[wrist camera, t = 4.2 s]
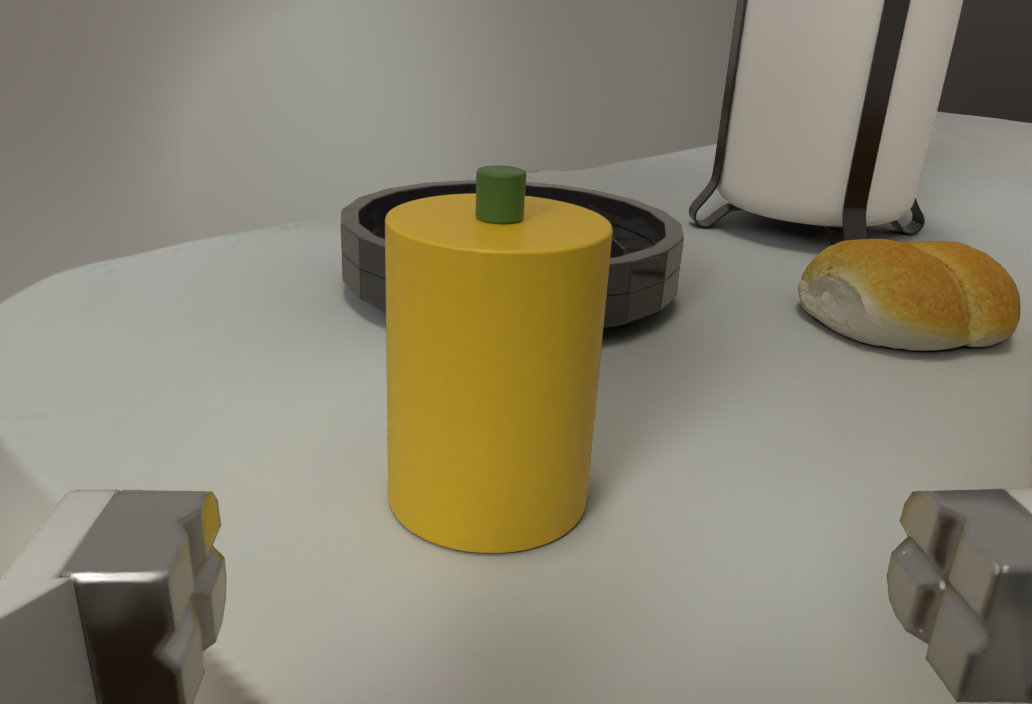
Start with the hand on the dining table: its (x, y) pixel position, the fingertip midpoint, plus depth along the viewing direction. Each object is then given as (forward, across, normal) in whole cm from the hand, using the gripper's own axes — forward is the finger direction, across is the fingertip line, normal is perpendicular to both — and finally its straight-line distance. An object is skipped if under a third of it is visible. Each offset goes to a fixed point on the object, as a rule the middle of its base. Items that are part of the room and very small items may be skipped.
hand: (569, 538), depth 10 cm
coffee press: (+44, -22, +7) cm, 50 cm away
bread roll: (+27, -19, +8) cm, 34 cm away
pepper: (+12, 0, +7) cm, 14 cm away
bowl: (+30, -2, +7) cm, 31 cm away
